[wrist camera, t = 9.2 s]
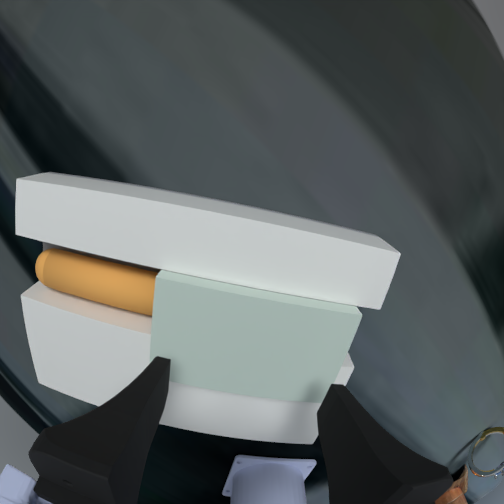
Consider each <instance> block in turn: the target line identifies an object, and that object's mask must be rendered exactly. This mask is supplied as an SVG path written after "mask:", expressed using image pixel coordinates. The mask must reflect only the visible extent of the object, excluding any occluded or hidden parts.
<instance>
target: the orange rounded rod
mask: <svg viewBox="0 0 504 504" xmlns="http://www.w3.org/2000/svg"><path fill="white" fill-rule="evenodd" d="M35 269H36V275H37V277H38V279H39V280H40V282H41V283H42V284H43V285H45V286H47V287H49V288H52V289H56V290H59V291H62V292H65V293H69V294H72V295H75V296H79V297H82V298H85V299H89V300H92V301H96V302H100V303H103V304H107V305H111V306H114V307H118V308H122V309H126V310H130V311H134V312H138V313H142V314H146V315H150V316H152V313H153V301H154V290H155V280H156V276H157V275H158V273H157V272H153V271H148V270H144V269H139V268H135V267H131V266H126V265H122V264H117V263H113V262H109V261H105V260H101V259H96V258H92V257H88V256H84V255H80V254H76V253H72V252H68V251H64V250H60V249H55V248H51V249H47V250H45V251H43V252H42V253H41V254H40V255H39V257H38V259H37V261H36V266H35Z"/></svg>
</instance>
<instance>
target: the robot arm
mask: <svg viewBox="0 0 504 504" xmlns="http://www.w3.org/2000/svg"><path fill="white" fill-rule="evenodd" d="M170 365H171V359H168V358H164V357H159V356H157V357H155V358H154V359H153V360H152V362H151V363H150V364H149V365H148V366H147V367H146V368H145V369H144V370H143V371H142V372H141V373H140V374H139V375H138V376H137V377H136V378H135V379H134V380H133V381H132V382H131V383H130V384H129V385H128V386H126V387H125V388H124V389H123V390H122V391H120V392H119V393H118V394H117V395H115V396H114V397H113V398H111V399H110V400H108V401H107V402H105V403H104V404H102V405H101V406H99V407H97V408H95V409H94V410H92V411H90V412H88V413H86V414H84V415H82V416H80V417H77V418H75V419H73V420H70V421H68V422H65V423H62V424H59V425H56V426H52V427H49V428H45V429H44V430H43V431H42V432H41V434H40V435H39V436H38V438H37V439H36V441H35V442H34V444H33V446H32V448H31V449H30V451H29V458H30V460H31V462H32V464H33V465H34V467H35V469H36V470H37V472H38V474H39V475H40V476H39V478H38V481H35V480H34V479H33V478H32V477H30V476H29V475H27V474H25V473H24V472H22V471H20V470H18V469H16V468H15V467H13V466H11V465H10V464H7V465H6V466H5V468H4V470H3V472H2V473H1V475H0V504H137V500H138V495H139V490H140V485H141V480H142V476H143V471H144V467H145V463H146V458H147V455H148V452H149V448H150V446H151V443H152V440H153V438H154V435H155V432H156V430H157V427H158V425H159V422H160V419H161V417H162V414H163V411H164V408H165V404H166V400H167V395H168V391H169V377H170ZM317 425H318V434H319V438H320V443H321V447H322V452H323V456H324V460H325V465H326V469H327V475H328V485H329V502H330V504H436V503H435V501H436V500H437V499H438V498H439V497H441V496H442V495H443V494H444V493H445V492H446V491H447V490H448V489H449V488H450V487H451V486H452V484H453V478H452V476H451V474H450V472H449V470H448V468H447V467H445V466H443V465H440V464H438V463H435V462H433V461H431V460H429V459H427V458H425V457H423V456H421V455H419V454H417V453H415V452H414V451H412V450H411V449H409V448H408V447H406V446H405V445H403V444H402V443H400V442H399V441H398V440H396V439H395V438H394V437H393V436H391V435H390V434H389V433H388V432H387V431H386V430H384V429H383V428H382V427H381V426H380V425H379V424H378V423H377V422H376V421H375V420H374V419H373V418H372V417H371V416H370V414H369V413H368V412H367V411H366V410H365V409H364V408H363V407H362V406H361V404H360V403H359V402H358V401H357V400H356V399H355V397H354V396H353V395H352V394H351V393H350V391H349V390H348V389H347V388H346V387H345V386H344V385H343V384H331V385H330V387H329V389H328V391H327V394H326V396H325V398H324V400H323V402H322V404H321V406H320V407H319V409H318V411H317ZM315 465H316V460H314V459H286V458H270V457H258V456H247V455H237V456H235V459H234V461H233V464H232V467H231V470H230V472H229V475H228V478H227V480H226V483H225V486H224V488H223V491H222V495H224V496H230V497H231V504H307V501H306V494H305V487H304V480H305V479H306V478H307V476H308V475H309V473H310V472H311V471H312V469H313V468H314V467H315Z"/></svg>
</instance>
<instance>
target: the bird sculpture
mask: <svg viewBox="0 0 504 504" xmlns="http://www.w3.org/2000/svg"><path fill="white" fill-rule="evenodd" d="M467 485H468V469H467V466H466V464H465V466H464V469H463V472H462V474H461V476H460V477H459V478H458V480H456V481H455V482H453V484H452V486H451V487H450V488H449V489H448V490H449V491H448V490H447V491H446V492H445V493H444V494H443V495H442V496H441V497H439V498H438V499H437V500H436V501H435V503H436V504H467V501H466V499H465V497H464V495H463V494H465V493H466V491H467ZM456 486H457V487H456ZM459 486H460V487H459Z"/></svg>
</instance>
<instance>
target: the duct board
mask: <svg viewBox="0 0 504 504" xmlns="http://www.w3.org/2000/svg"><path fill="white" fill-rule="evenodd" d="M16 234H17V235H20V236H24V237H28V238H32V239H36V240H39V241H43V251H45V250H47V249H51V248H55V249H60V250H64V251H68V252H72V253H76V254H80V255H84V256H88V257H92V258H96V259H101V260H105V261H109V262H113V263H117V264H122V265H126V266H131V267H135V268H139V269H144V270H148V271H153V272H157V273H159V272H160V271H161V270H165V271H170V272H174V273H179V274H184V275H189V276H194V277H198V278H203V279H208V280H213V281H218V282H223V283H228V284H233V285H238V286H244V287H249V288H254V289H259V290H265V291H270V292H276V293H281V294H287V295H292V296H298V297H304V298H309V299H315V300H321V301H327V302H333V303H339V304H345V305H351V306H360V307H366V308H373V309H379V310H380V309H381V306H382V304H383V301H384V299H385V296H386V293H387V291H388V288H389V286H390V283H391V280H392V277H393V275H394V272H395V269H396V266H397V263H398V261H399V258H400V255H401V253H400V252H398V251H397V250H396V249H394V248H393V247H392V246H390V245H389V244H388V243H386V242H385V241H384V240H382V239H381V238H380V237H378V236H377V235H374V234H370V233H366V232H362V231H358V230H354V229H350V228H346V227H342V226H338V225H334V224H329V223H325V222H321V221H317V220H312V219H308V218H304V217H299V216H295V215H290V214H286V213H281V212H277V211H272V210H267V209H263V208H258V207H253V206H248V205H243V204H238V203H233V202H228V201H223V200H218V199H213V198H208V197H203V196H197V195H192V194H187V193H181V192H176V191H170V190H164V189H159V188H153V187H147V186H141V185H135V184H129V183H123V182H116V181H110V180H103V179H97V178H90V177H83V176H76V175H69V174H61V173H54V172H47V173H42V174H37V175H32V176H27V177H22V178H18V179H17V181H16ZM21 301H22V308H23V314H24V320H25V326H26V331H27V336H28V341H29V346H30V350H31V354H32V359H33V363H34V367H35V371H36V374H37V378H38V382H39V383H41V384H43V385H45V386H47V387H50V388H52V389H55V390H57V391H59V392H62V393H64V394H67V395H69V396H72V397H75V398H77V399H80V400H83V401H85V402H88V403H91V404H94V405H97V406H101V405H102V404H104V403H105V402H107V401H108V400H110V399H111V398H113V397H114V396H115V395H117V394H118V393H119V392H120V391H122V390H123V389H124V388H125V387H126V386H128V385H129V384H130V383H131V382H132V381H133V380H134V379H135V378H136V377H137V376H138V375H139V374H140V373H141V372H142V371H143V370H144V369H145V368H146V367H147V366H148V365H149V363H150V342H151V326H152V316H150V315H146V314H142V313H138V312H134V311H130V310H126V309H122V308H118V307H114V306H111V305H107V304H103V303H100V302H96V301H92V300H89V299H85V298H82V297H79V296H75V295H72V294H69V293H65V292H62V291H59V290H56V289H52V288H49V287H47V286H45V285H43V284H42V283H41V282H40V281H38V282H37V283H36V284H34V285H33V286H32V287H30V288H29V289H28V290H26V291H25V292H24V293H22V294H21ZM353 369H354V365H353V363H352V361H351V359H350V356H349V354H348V353H347V355H346V357H345V359H344V362H343V364H342V366H341V369H340V371H339V373H338V375H337V377H336V380H335V382H334V384H343V385H344V386H345V385H346V383H347V381H348V379H349V377H350V375H351V373H352V371H353ZM321 404H322V403H312V402H299V401H288V400H279V399H270V398H262V397H254V396H247V395H240V394H234V393H228V392H222V391H216V390H210V389H205V388H200V387H195V386H190V385H185V384H180V383H176V382H171V381H169V391H168V395H167V400H166V404H165V408H164V411H163V414H162V417H161V419H160V422H159V424H163V425H167V426H172V427H176V428H181V429H186V430H191V431H196V432H201V433H207V434H213V435H219V436H226V437H233V438H240V439H248V440H257V441H268V442H280V443H297V444H313V443H314V441H315V439H316V438H317V436H318V425H317V411H318V409H319V407H320V406H321Z"/></svg>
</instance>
